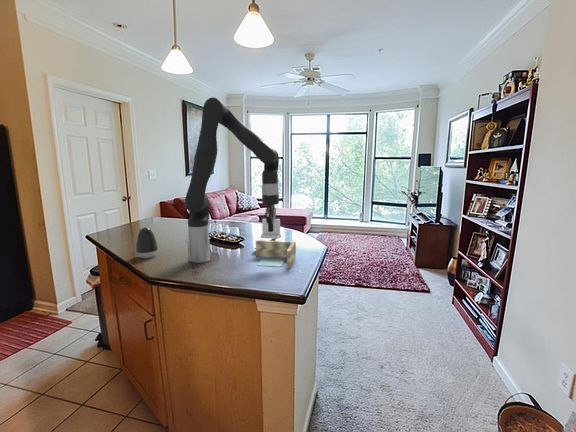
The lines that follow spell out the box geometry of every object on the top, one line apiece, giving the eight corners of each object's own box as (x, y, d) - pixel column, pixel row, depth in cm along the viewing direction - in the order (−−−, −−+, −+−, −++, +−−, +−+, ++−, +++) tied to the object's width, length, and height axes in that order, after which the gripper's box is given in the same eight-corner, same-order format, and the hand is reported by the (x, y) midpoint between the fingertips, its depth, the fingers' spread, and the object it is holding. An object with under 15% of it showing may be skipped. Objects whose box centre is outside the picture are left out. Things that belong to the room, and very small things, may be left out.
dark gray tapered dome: (141, 261, 139) (138, 230, 137) (133, 257, 146) (130, 227, 144) (162, 256, 146) (159, 227, 144) (153, 252, 153) (151, 224, 151)
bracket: (280, 236, 134) (279, 219, 133) (278, 238, 129) (277, 221, 128) (263, 235, 135) (262, 218, 134) (260, 238, 130) (260, 220, 129)
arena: (246, 266, 131) (246, 249, 130) (256, 255, 148) (256, 240, 146) (290, 268, 128) (290, 251, 127) (295, 257, 144) (295, 241, 143)
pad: (257, 265, 132) (257, 265, 132) (262, 259, 141) (262, 259, 141) (281, 266, 130) (281, 266, 130) (284, 260, 139) (284, 260, 139)
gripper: (265, 192, 138) (266, 228, 141) (258, 195, 125) (259, 234, 128) (281, 192, 137) (281, 228, 140) (275, 195, 124) (276, 234, 126)
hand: (271, 231), depth 134 cm, fingers closed on bracket, 1 cm apart
